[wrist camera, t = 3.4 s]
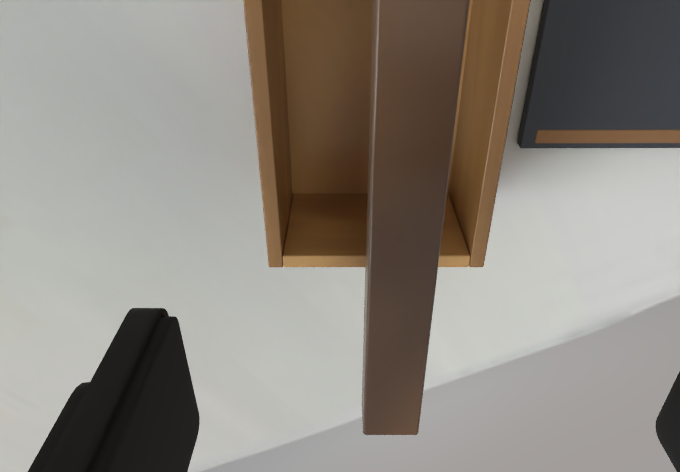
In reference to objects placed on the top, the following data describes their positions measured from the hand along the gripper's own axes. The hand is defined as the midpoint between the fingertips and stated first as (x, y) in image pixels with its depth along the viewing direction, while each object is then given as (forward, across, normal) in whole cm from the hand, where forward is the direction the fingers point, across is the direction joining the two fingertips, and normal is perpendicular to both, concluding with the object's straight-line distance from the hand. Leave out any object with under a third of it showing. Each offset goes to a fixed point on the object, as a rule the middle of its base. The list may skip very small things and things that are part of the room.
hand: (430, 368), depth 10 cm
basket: (+17, 0, 0) cm, 17 cm away
